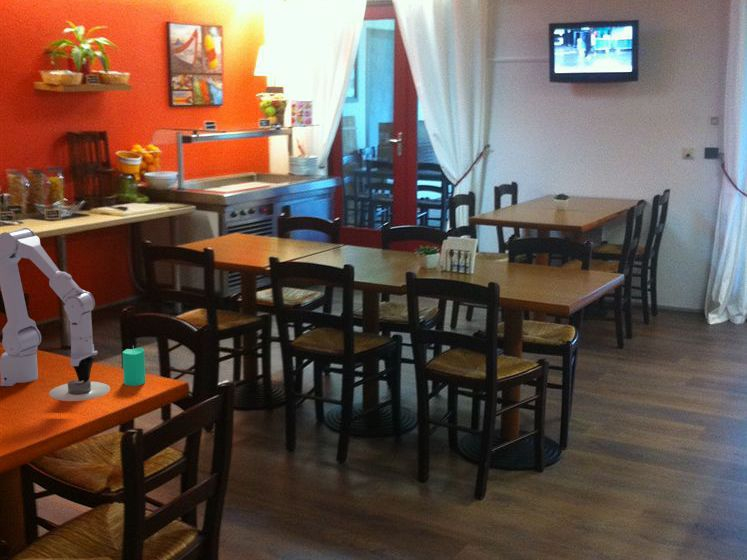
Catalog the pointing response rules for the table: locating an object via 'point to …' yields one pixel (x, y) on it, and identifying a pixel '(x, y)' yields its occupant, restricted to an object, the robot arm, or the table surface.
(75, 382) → the cover
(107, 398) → the table surface
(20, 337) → the robot arm
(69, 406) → the table surface
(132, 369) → the candle
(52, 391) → the cream flat disc
